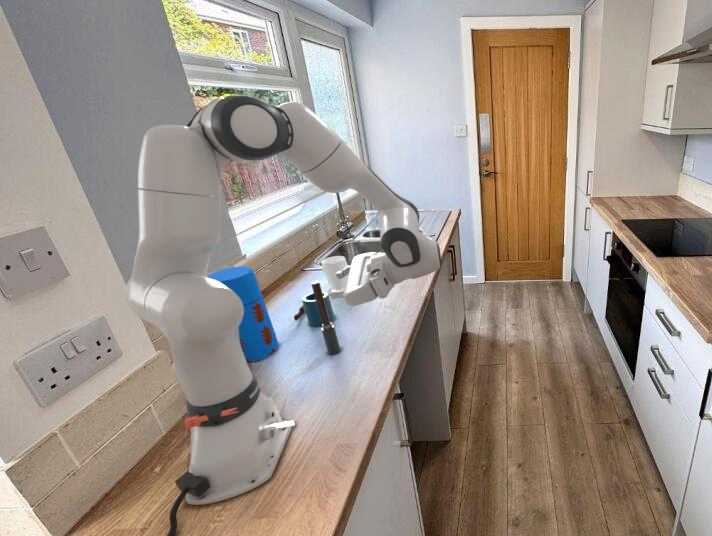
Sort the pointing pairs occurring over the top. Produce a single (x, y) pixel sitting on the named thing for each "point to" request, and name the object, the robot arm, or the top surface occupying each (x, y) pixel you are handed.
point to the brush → (326, 321)
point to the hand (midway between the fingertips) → (333, 285)
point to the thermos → (250, 312)
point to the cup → (334, 271)
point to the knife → (299, 313)
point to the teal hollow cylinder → (316, 309)
